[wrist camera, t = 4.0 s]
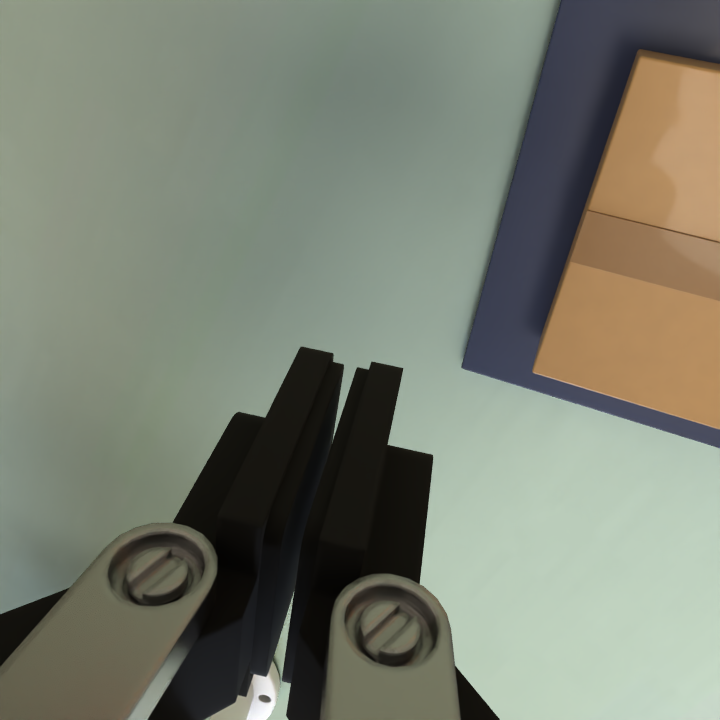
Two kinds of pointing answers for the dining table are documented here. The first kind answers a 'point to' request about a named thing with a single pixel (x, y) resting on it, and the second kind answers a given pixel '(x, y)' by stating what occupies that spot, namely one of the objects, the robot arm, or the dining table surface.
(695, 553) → the dining table surface
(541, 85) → the sloping board
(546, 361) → the cardboard box
